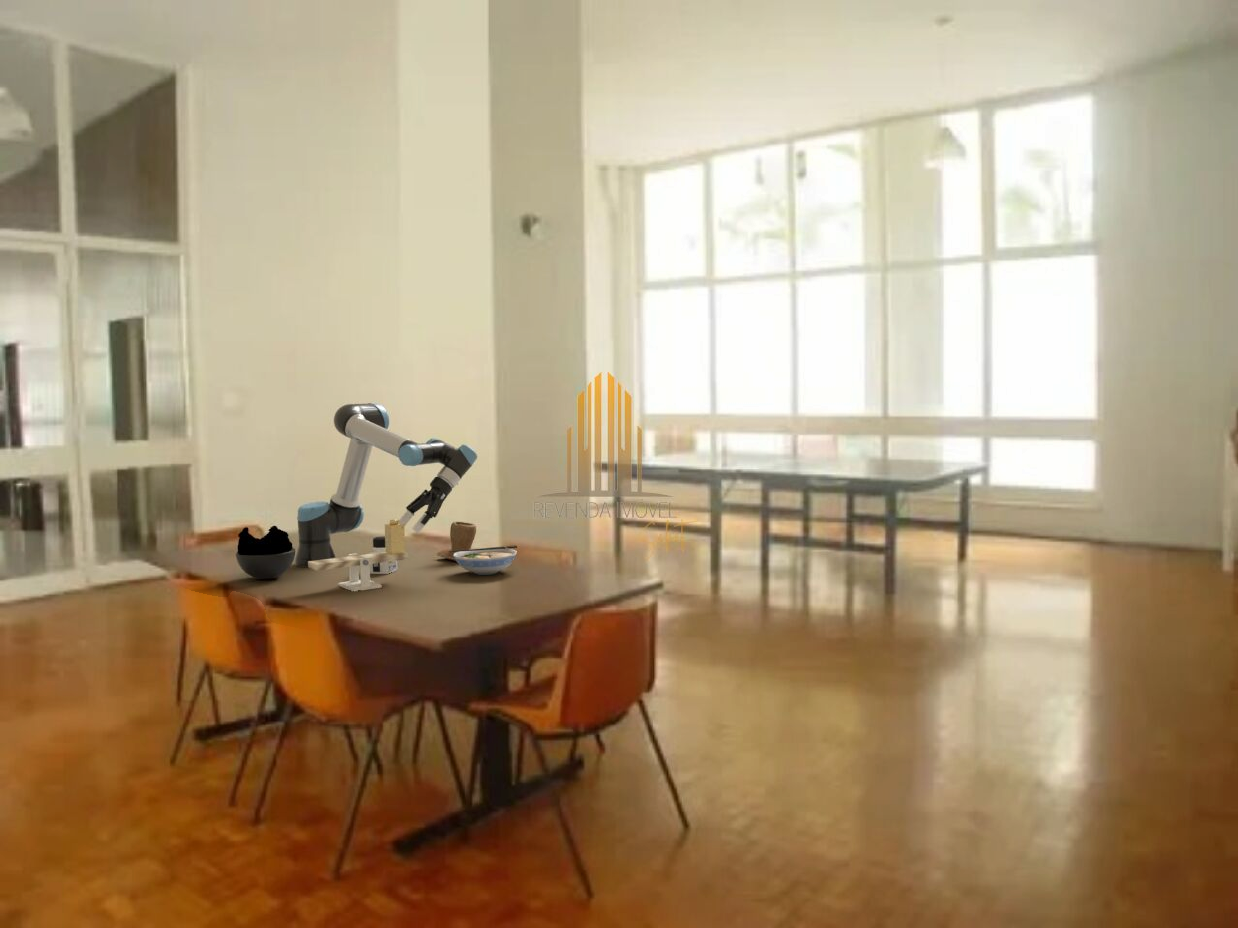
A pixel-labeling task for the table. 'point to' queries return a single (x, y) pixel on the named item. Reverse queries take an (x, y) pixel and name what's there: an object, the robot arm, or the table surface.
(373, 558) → the balance beam
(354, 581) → the beam stand
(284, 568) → the coal bowl
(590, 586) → the table surface
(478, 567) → the ramen bowl
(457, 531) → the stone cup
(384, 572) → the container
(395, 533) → the brass weight
